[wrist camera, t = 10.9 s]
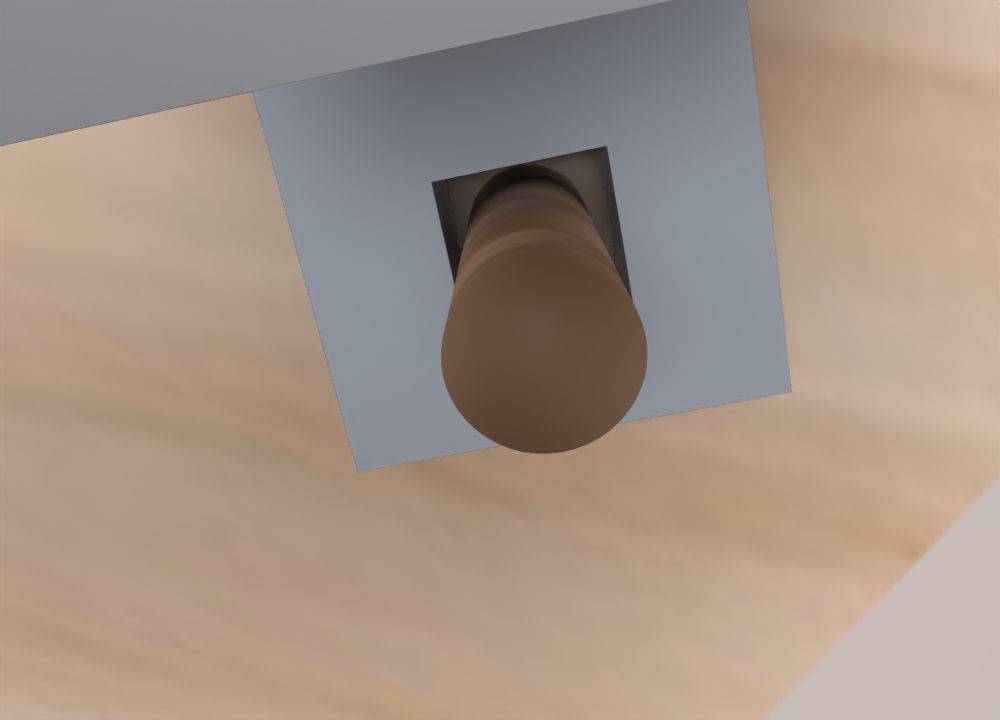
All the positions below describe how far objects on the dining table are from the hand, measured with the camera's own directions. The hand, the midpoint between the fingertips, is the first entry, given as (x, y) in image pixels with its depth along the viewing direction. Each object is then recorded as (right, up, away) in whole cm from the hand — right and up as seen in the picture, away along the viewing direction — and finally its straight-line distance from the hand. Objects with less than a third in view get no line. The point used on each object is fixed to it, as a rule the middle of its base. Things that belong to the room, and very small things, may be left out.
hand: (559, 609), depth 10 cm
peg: (0, +7, +22) cm, 24 cm away
